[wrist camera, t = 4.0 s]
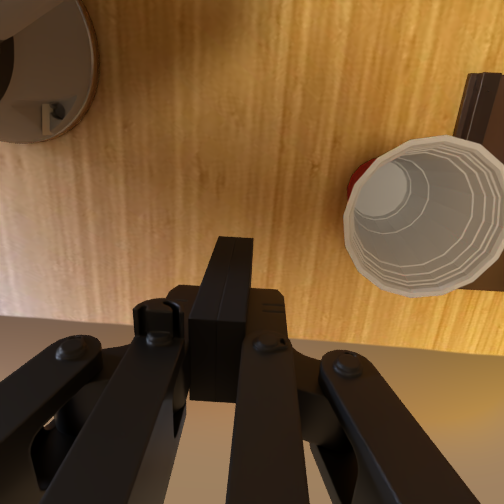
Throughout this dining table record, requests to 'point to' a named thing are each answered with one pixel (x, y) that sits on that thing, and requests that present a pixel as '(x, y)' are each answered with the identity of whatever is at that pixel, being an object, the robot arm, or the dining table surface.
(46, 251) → the dining table surface
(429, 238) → the plastic cup
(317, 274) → the dining table surface
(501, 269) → the board
